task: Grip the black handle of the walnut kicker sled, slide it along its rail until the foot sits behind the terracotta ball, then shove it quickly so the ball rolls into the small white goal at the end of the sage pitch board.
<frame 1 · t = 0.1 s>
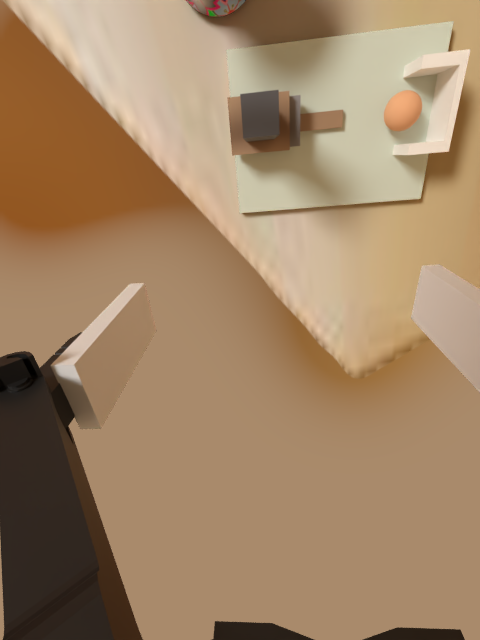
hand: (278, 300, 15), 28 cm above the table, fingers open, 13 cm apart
kicker: (266, 121, 28), point 8 cm above the table, slide at 0.0 cm
ball: (402, 111, 31), point 3 cm above the table, tilted 135°, touching pitch
goal: (413, 112, 34), resting on pitch
pitch: (329, 131, 35), on the table
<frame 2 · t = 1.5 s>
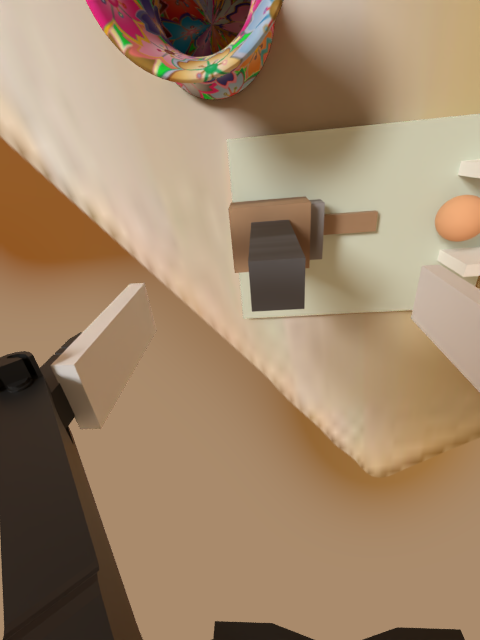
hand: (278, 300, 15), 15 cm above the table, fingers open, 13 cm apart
kicker: (281, 250, 21), point 8 cm above the table, slide at 0.0 cm
ball: (461, 218, 24), point 3 cm above the table, tilted 145°, touching pitch
goal: (466, 210, 26), resting on pitch
mug: (201, 6, 21), on the table
pitch: (357, 230, 27), on the table
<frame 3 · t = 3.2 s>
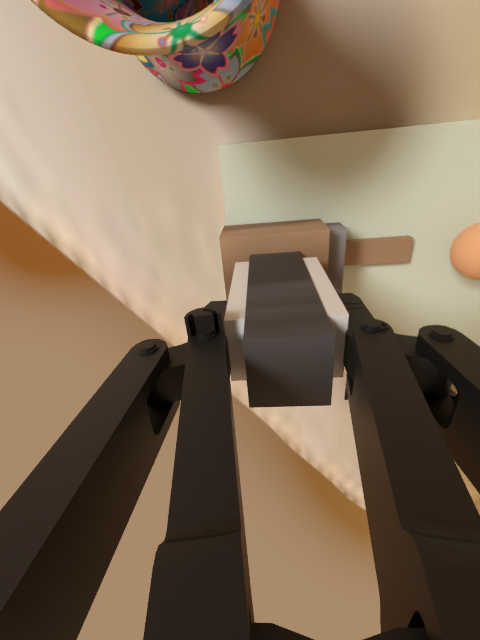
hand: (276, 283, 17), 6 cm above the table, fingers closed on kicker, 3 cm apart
kicker: (290, 297, 15), point 8 cm above the table, slide at 0.0 cm, touching gripper
pitch: (383, 258, 22), on the table
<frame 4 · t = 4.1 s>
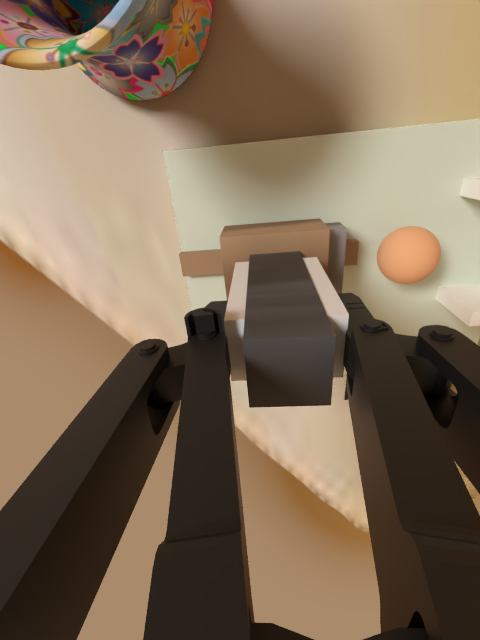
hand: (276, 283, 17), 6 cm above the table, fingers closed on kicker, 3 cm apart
kicker: (290, 297, 15), point 8 cm above the table, slide at 3.4 cm, touching gripper
ball: (407, 255, 19), point 3 cm above the table, tilted 35°, touching pitch
goal: (471, 238, 21), resting on pitch
pitch: (336, 261, 22), on the table
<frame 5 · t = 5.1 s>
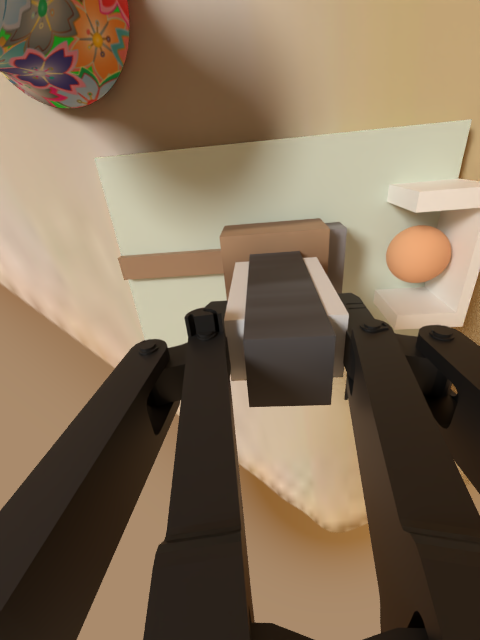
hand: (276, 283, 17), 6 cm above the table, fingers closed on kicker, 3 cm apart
kicker: (290, 296, 15), point 8 cm above the table, slide at 7.7 cm, touching gripper
ball: (417, 254, 19), point 3 cm above the table, tilted 171°, touching pitch
goal: (405, 242, 21), resting on pitch
pitch: (276, 265, 23), on the table
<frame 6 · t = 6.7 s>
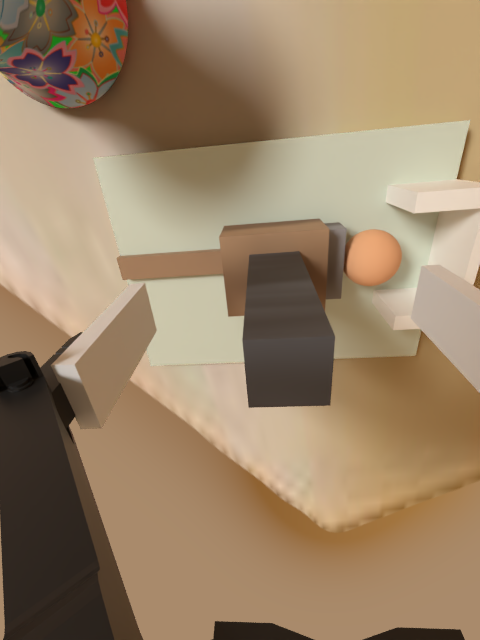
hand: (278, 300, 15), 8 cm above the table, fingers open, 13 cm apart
kicker: (289, 297, 15), point 8 cm above the table, slide at 7.8 cm
ball: (370, 258, 19), point 3 cm above the table, tilted 99°, touching pitch
goal: (403, 243, 21), resting on pitch
pitch: (274, 265, 23), on the table
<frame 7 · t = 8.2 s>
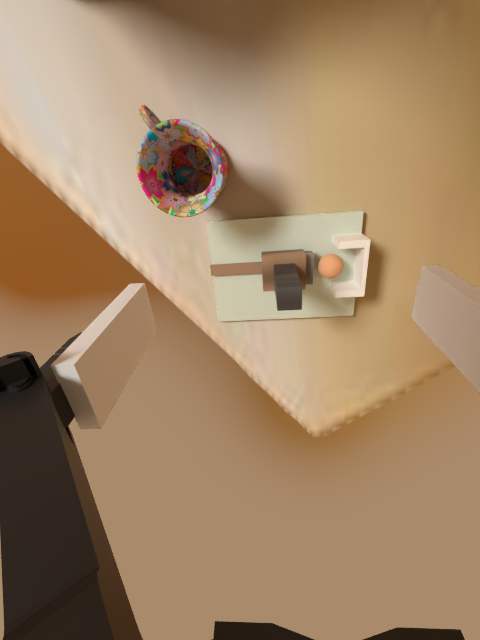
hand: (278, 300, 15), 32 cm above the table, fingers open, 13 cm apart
kicker: (290, 280, 40), point 8 cm above the table, slide at 7.8 cm
ball: (330, 266, 44), point 3 cm above the table, tilted 121°, touching pitch
goal: (343, 259, 46), resting on pitch
mug: (192, 160, 41), on the table
pitch: (283, 269, 47), on the table
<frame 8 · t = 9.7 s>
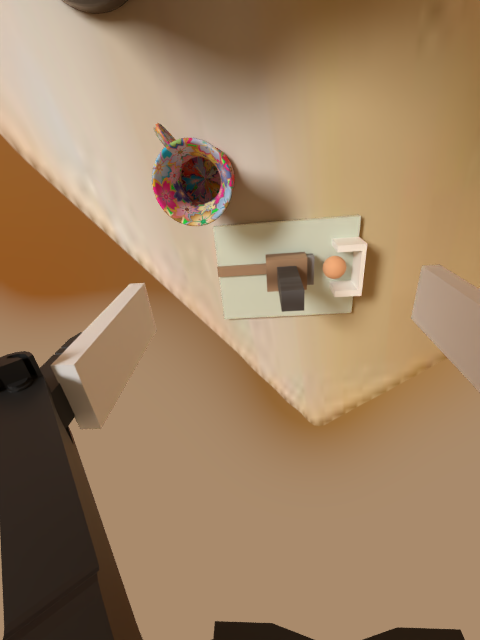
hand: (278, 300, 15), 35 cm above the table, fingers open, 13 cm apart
kicker: (292, 282, 43), point 8 cm above the table, slide at 7.8 cm
ball: (334, 267, 47), point 3 cm above the table, tilted 143°, touching pitch
goal: (341, 261, 49), resting on pitch
mug: (200, 169, 44), on the table
pitch: (285, 270, 50), on the table
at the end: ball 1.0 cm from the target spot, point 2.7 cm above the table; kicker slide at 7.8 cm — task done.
